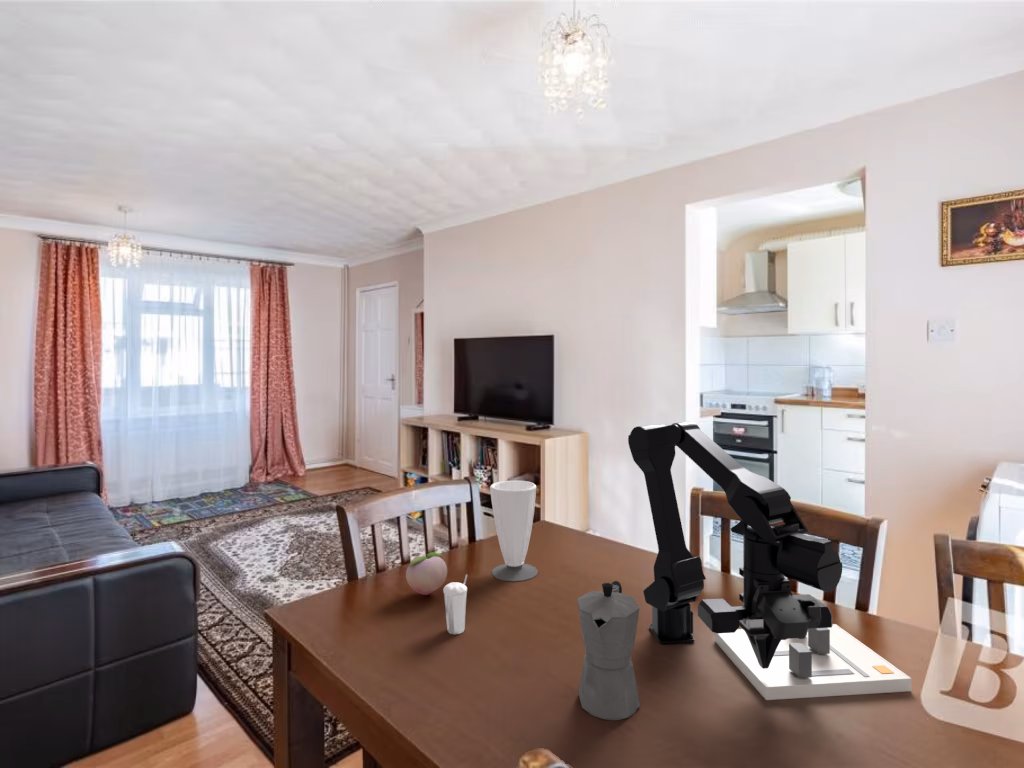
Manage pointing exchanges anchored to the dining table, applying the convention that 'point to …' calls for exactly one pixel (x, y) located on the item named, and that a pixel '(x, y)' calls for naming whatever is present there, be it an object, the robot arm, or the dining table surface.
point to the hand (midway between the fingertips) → (763, 667)
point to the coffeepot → (608, 653)
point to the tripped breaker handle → (800, 660)
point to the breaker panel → (816, 668)
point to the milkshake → (455, 606)
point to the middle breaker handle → (819, 640)
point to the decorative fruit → (426, 573)
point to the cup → (513, 527)
